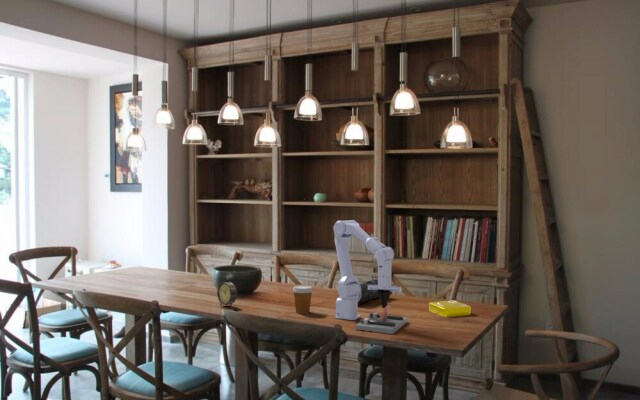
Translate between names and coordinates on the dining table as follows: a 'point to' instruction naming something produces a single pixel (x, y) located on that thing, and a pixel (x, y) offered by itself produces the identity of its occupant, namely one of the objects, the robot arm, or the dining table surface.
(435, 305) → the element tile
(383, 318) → the lever
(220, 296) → the alarm clock
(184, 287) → the dining table surface
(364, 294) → the muzzle brake
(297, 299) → the disposable coffee cup
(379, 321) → the box
